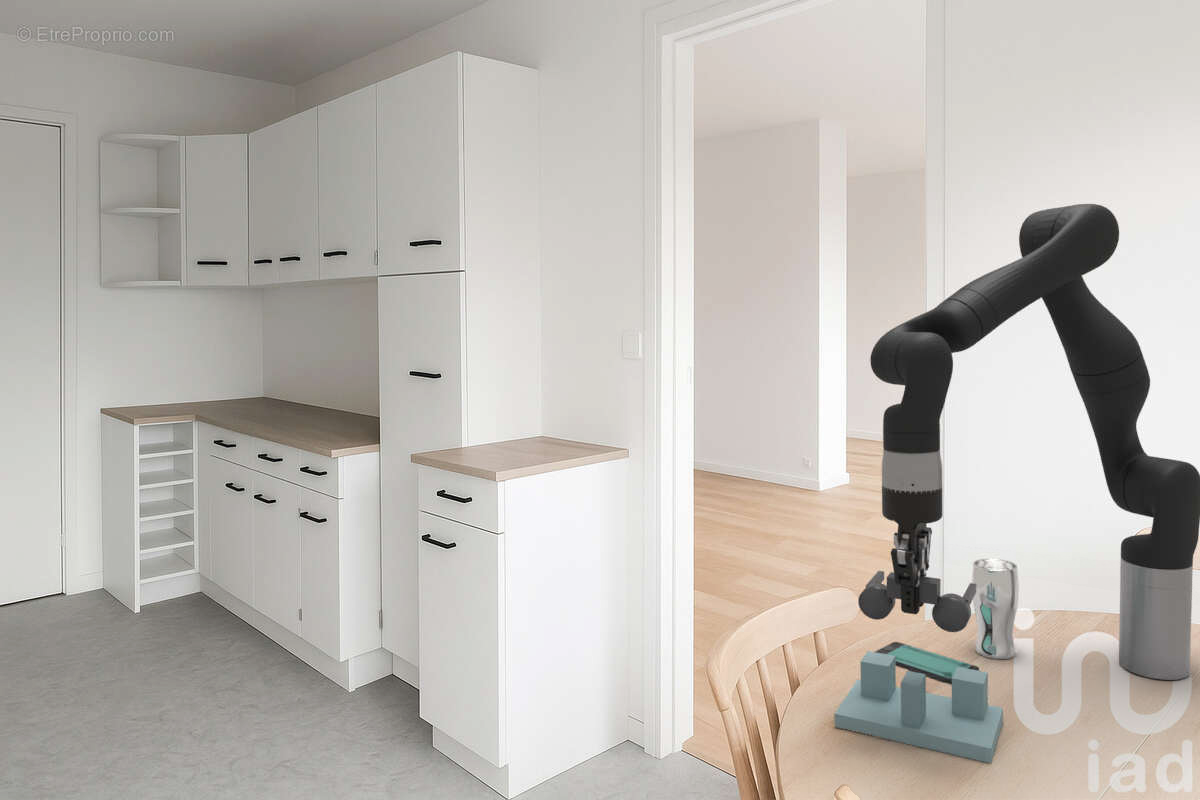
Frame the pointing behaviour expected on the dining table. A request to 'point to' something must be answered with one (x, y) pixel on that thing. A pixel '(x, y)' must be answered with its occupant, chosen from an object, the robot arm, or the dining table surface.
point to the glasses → (947, 609)
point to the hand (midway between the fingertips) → (912, 608)
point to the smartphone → (924, 661)
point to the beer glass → (995, 607)
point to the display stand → (922, 710)
